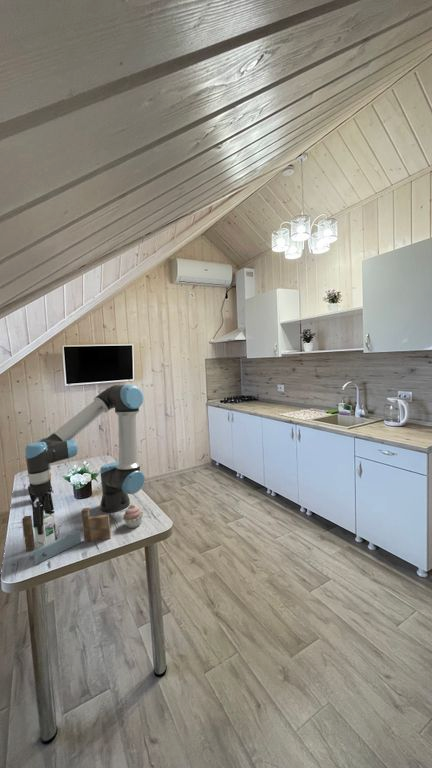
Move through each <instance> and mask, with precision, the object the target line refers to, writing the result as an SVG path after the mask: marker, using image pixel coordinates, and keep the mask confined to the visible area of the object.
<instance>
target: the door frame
mask: <svg viewBox="0 0 432 768" xmlns="http://www.w3.org/2000/svg"><path fill="white" fill-rule="evenodd" d="M80 511H81V518H82V519H81V521H82V531H83V539H84V543H92V542H96V541H101V540H102V541H104V540H109V539H111V538H112V533H111V532H112V531H111V524H110V514H101V515H93V516H90V515H91V514H90V508H89V507H84V508H82V509H81V510H80ZM21 520H22V529H23V536H24V545H25V546H24V547H25V552H30V551H34V550H35V547H36V543H35V533H34V527H33V517H32V515H25V516H23V518H22V519H21Z"/></svg>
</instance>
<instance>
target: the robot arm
mask: <svg viewBox="0 0 432 768" xmlns="http://www.w3.org/2000/svg"><path fill="white" fill-rule="evenodd" d="M143 402H144V394H143V392H142V390H141V389H140V388H139V387H138V386H136V385H134V384H133V385H132V384H119V385H118V384H115V385H111V386H109V387H107V388H106V389H105V390H103V391H102V392H100V393H99V394H97V395H96V396H95V397H94V398H93V401H91V403H90V404H88V405H87V406H86V407H85V408H82V410H81V411H80V412H78V413H77V414H75V415H74V416H73V417H72V418H70V419H69V420H68V421H67V422H65V423H64V424H63V425H62V426H60V427H59V428H58V429H57V430H55V431H54V432H52V434H50V435H49V436H48V437H44V438H41V439H39V440H37V442H33V443H28V444H27V445H25V456H24V457H25V461H26V466H27V468H26V469H27V475H26V477H28V483H29V484H28V485H29V487H30V493H32V494H35V502H32V501H31V507H32V526H33V529H34V528H36V527H37V535H38V542H43V541H46V533H45V524H44V525H43V518H44V515H45V514H46V513H48V514H51V515H54V514H55V511H54V509H55V507H54V503H53V497H52V492H51V486H52V483H51V482H52V479H51V480H50V473H51V470H50V471H49V464H50V465H51V464H53V463H57V462H60V461H64V460H68V459H71V458H74V457H75V456H77V454H78V452H79V451H78V450H79V447H78V444H77V442H76V441H75V440H74V439H73V438H75V437H76V436H77V435H78V434H80V432H81V431H83V430H85V428H87V427H88V426H89V425H91V424H92V423H93V422H94V421H95V420H96V419H97V418H99V417H100V416H101V415H102V414H103V413H108V412H109V411H110V410H112V409H114V413H115V414H116V415H117V417H118V420H117V421H118V461H113V462H108V463H106V464H104V465H102V466H101V467H100V469H99V470H100V473H99V475H100V480H101V482H100V483H101V492H102V494H101V495H102V496H101V499H100V504H99V505H100V510H101V511H102V512H103V513H115V512H119V511H122V510H126V509H127V508H129V506H130V505H131V499H130V497H129V495H134V494H137V493H138V492H140V490H142V488H143V487H144V484H145V480H146V479H145V474H144V473H143V472H142V471H141V464H140V463H139V462H138V459H137V458H138V457H137V456H138V455H137V454H138V453H137V451H138V450H137V414H138V413H139V412H140V407H142V404H143Z"/></svg>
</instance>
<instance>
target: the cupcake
mask: <svg viewBox="0 0 432 768" xmlns="http://www.w3.org/2000/svg"><path fill="white" fill-rule="evenodd" d="M124 510H125V511H124V514H122V516H123V517H122V519H123V521H124V522H125V524H126V527H127V528H129V529H135V528H139V526H140V525H141V523H142V518H143V515H144V512H142V510H141V509H140V507H138V506H137V505H136V504H133V503H132V504H130V505H129V506H128V507H127V508H125V509H124Z"/></svg>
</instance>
